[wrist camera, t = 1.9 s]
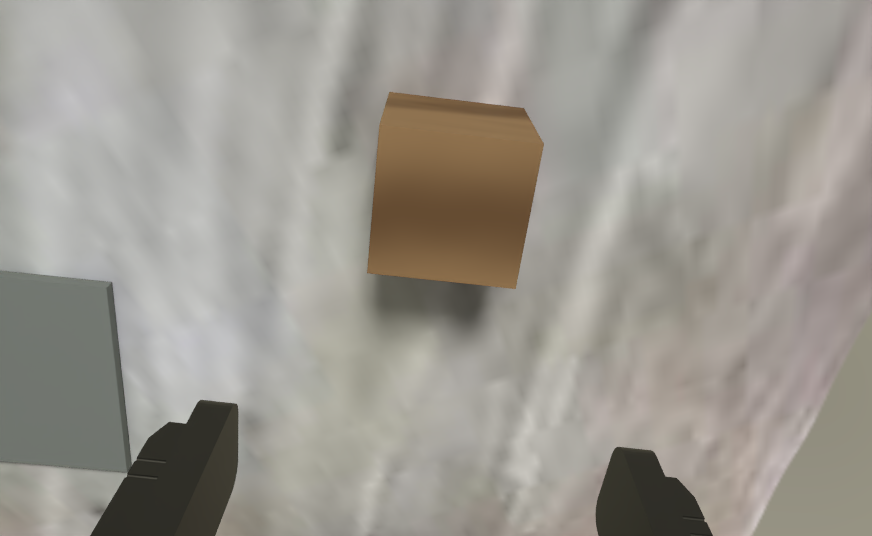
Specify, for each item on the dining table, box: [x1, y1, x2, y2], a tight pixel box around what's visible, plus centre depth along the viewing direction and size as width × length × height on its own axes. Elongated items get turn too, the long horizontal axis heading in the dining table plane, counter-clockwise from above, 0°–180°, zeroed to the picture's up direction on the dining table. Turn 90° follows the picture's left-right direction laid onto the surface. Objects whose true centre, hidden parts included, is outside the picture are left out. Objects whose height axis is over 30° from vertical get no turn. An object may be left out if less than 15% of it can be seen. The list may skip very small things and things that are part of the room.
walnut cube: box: [367, 92, 544, 289], centre depth 28 cm, size 6×6×6 cm
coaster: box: [0, 271, 131, 472], centre depth 35 cm, size 12×12×1 cm
